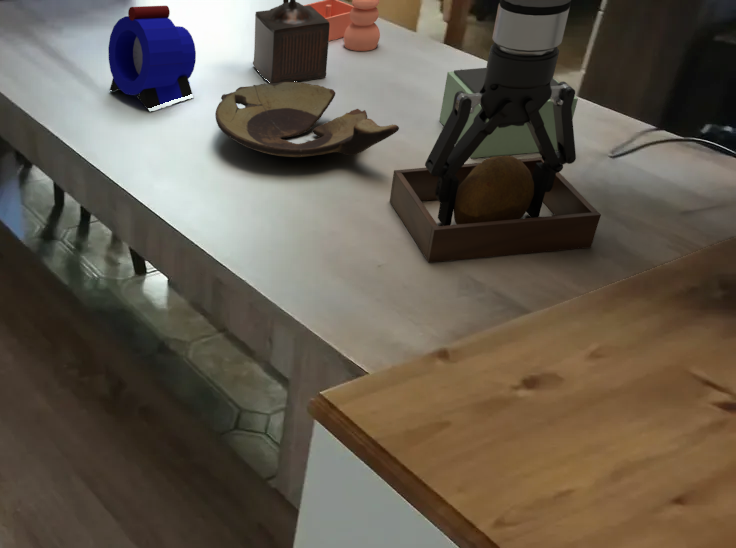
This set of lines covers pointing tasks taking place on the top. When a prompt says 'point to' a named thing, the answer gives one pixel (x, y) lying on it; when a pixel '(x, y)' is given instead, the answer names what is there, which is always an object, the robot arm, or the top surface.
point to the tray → (496, 237)
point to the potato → (494, 191)
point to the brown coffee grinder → (291, 43)
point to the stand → (502, 138)
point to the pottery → (351, 22)
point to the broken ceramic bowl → (294, 121)
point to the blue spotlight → (151, 56)
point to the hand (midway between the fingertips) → (487, 218)
